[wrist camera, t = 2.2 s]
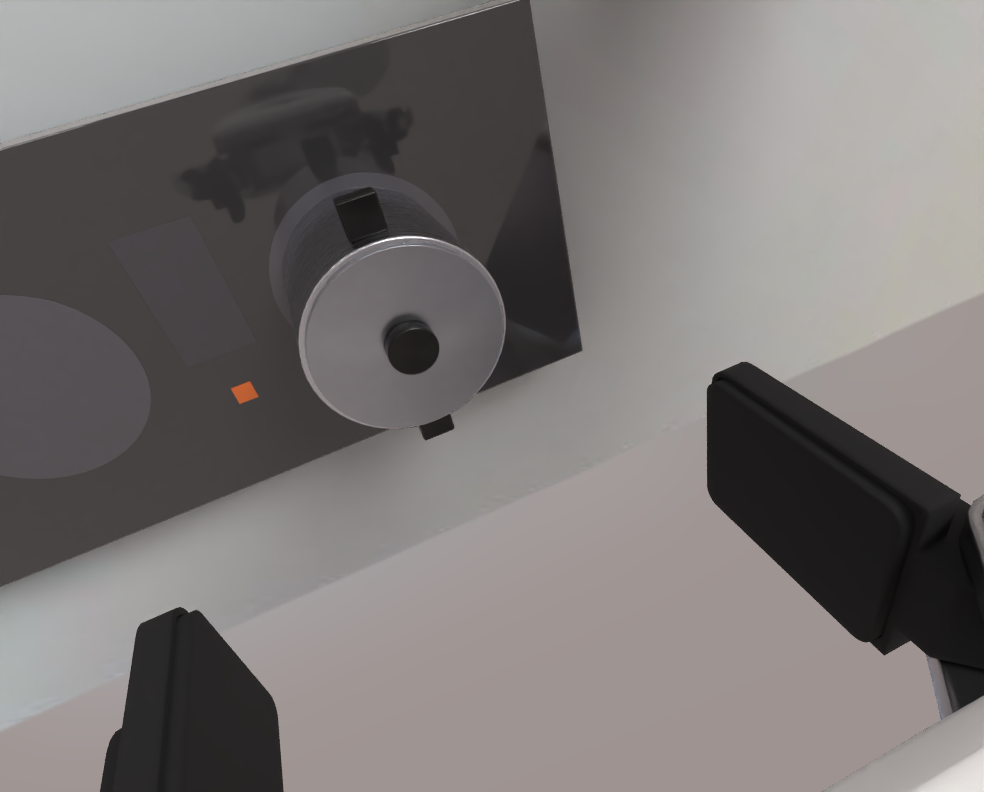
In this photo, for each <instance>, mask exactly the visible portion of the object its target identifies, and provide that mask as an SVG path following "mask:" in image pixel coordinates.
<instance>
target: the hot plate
mask: <svg viewBox="0 0 984 792" xmlns="http://www.w3.org/2000/svg"><path fill="white" fill-rule="evenodd" d="M369 186H370V187H372V188H381V189H388V190H391V191H394V192H398V193H400V194H402V195H405V196H407V197H409V198H410V199H412V200H414V201H415V202H417V203H418V204H420V205H421V206H422V207H423V208H424V209H426V210H427V211H428V212H429V213H430V214H431V215H432V216H433V217H434V218H435V219H436V220H437V221H438V222H439V223H440V224H441V225H442V226H443V227H444V228H445V229H446V230H448V231H449V232H450V233H451V234H452V235H453V236H454V237H455V238H456V239H457V240H458V241H459V242H460V243H461V244H462V245H463V246H464V247H465V248H466V249H467V250H468V251H469V252H470V253H471V254H472V255H473V256H474V257H475V258H477V259H478V260H479V261H480V262H481V264H482V265H483V266H484V267H485V268H486V269H487V270H488V272H489V273H490V275H491V276H492V278H493V279H494V281H495V282H496V285H497V287H498V289H499V291H500V293H501V297H502V300H503V303H504V309H505V317H506V330H505V339H504V343H503V348H502V352H501V354H500V357H499V360H498V362H497V364H496V366H495V368H494V370H493V372H492V374H491V375H490V377H489V378H488V380H487V381H486V383H485V384H484V385H483V386H482V387H481V389H480V390H479V391H478V392H477V393H480V392H482V391H485V390H487V389H490V388H492V387H495V386H497V385H500V384H502V383H505V382H507V381H510V380H512V379H514V378H517V377H519V376H522V375H524V374H527V373H529V372H532V371H534V370H537V369H539V368H542V367H544V366H546V365H549V364H551V363H554V362H556V361H559V360H561V359H564V358H566V357H569V356H571V355H574V354H576V353H578V352H581V351H582V344H581V337H580V330H579V324H578V317H577V310H576V304H575V297H574V291H573V284H572V277H571V271H570V264H569V258H568V251H567V244H566V238H565V231H564V225H563V218H562V211H561V205H560V198H559V191H558V185H557V178H556V172H555V165H554V158H553V152H552V145H551V139H550V132H549V125H548V119H547V112H546V106H545V99H544V92H543V86H542V79H541V72H540V66H539V59H538V53H537V46H536V39H535V33H534V26H533V20H532V13H531V6H530V0H495V1H491V2H488V3H484V4H481V5H477V6H474V7H470V8H467V9H463V10H460V11H456V12H453V13H450V14H446V15H443V16H439V17H436V18H432V19H429V20H425V21H422V22H418V23H415V24H411V25H408V26H404V27H401V28H398V29H394V30H391V31H387V32H384V33H380V34H377V35H373V36H370V37H366V38H363V39H359V40H356V41H352V42H349V43H346V44H342V45H339V46H335V47H332V48H328V49H325V50H321V51H318V52H314V53H311V54H307V55H304V56H300V57H297V58H294V59H290V60H287V61H283V62H280V63H276V64H273V65H269V66H266V67H262V68H259V69H255V70H252V71H249V72H245V73H242V74H238V75H235V76H231V77H228V78H224V79H221V80H217V81H214V82H210V83H207V84H203V85H200V86H197V87H193V88H190V89H186V90H183V91H179V92H176V93H172V94H169V95H165V96H162V97H158V98H155V99H151V100H148V101H145V102H141V103H138V104H134V105H131V106H127V107H124V108H120V109H117V110H113V111H110V112H106V113H103V114H99V115H96V116H93V117H89V118H86V119H82V120H79V121H75V122H72V123H68V124H65V125H61V126H58V127H54V128H51V129H48V130H44V131H41V132H37V133H34V134H30V135H27V136H23V137H20V138H16V139H13V140H9V141H6V142H2V143H0V587H2V586H4V585H7V584H9V583H12V582H14V581H17V580H19V579H22V578H24V577H27V576H29V575H32V574H34V573H36V572H39V571H41V570H44V569H46V568H49V567H51V566H54V565H56V564H59V563H61V562H64V561H66V560H68V559H71V558H73V557H76V556H78V555H81V554H83V553H86V552H88V551H91V550H93V549H96V548H98V547H101V546H103V545H105V544H108V543H110V542H113V541H115V540H118V539H120V538H123V537H125V536H128V535H130V534H133V533H135V532H137V531H140V530H142V529H145V528H147V527H150V526H152V525H155V524H157V523H160V522H162V521H165V520H167V519H169V518H172V517H174V516H177V515H179V514H182V513H184V512H187V511H189V510H192V509H194V508H197V507H199V506H202V505H204V504H206V503H209V502H211V501H214V500H216V499H219V498H221V497H224V496H226V495H229V494H231V493H234V492H236V491H238V490H241V489H243V488H246V487H248V486H251V485H253V484H256V483H258V482H261V481H263V480H266V479H268V478H271V477H273V476H275V475H278V474H280V473H283V472H285V471H288V470H290V469H293V468H295V467H298V466H300V465H303V464H305V463H307V462H310V461H312V460H315V459H317V458H320V457H322V456H325V455H327V454H330V453H332V452H335V451H337V450H339V449H342V448H344V447H347V446H349V445H352V444H354V443H357V442H359V441H362V440H364V439H367V438H369V437H372V436H374V435H376V434H379V433H381V432H384V431H386V430H389V429H384V428H375V427H371V426H366V425H362V424H359V423H357V422H354V421H351V420H349V419H347V418H345V417H343V416H341V415H340V414H338V413H337V412H335V411H334V410H332V409H331V408H330V407H329V406H327V405H326V404H325V403H324V402H323V401H322V400H321V399H320V398H319V397H318V395H317V394H316V393H315V392H314V390H313V389H312V387H311V386H310V384H309V382H308V381H307V379H306V377H305V374H304V372H303V369H302V367H301V362H300V358H299V354H298V349H297V344H296V339H295V334H294V329H293V324H292V319H291V314H290V309H289V304H288V299H287V294H286V289H285V284H284V275H283V264H284V256H285V251H286V247H287V244H288V241H289V239H290V236H291V235H292V233H293V231H294V229H295V227H296V226H297V224H298V223H299V222H300V220H301V219H302V218H303V217H304V216H305V215H306V213H307V212H308V211H309V210H310V209H312V208H313V207H314V206H315V205H317V204H318V203H319V202H321V201H323V200H324V199H326V198H328V197H330V196H332V195H334V194H337V193H339V192H342V191H346V190H350V189H355V188H364V187H369ZM477 393H476V394H477Z"/></svg>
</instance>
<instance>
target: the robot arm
mask: <svg viewBox="0 0 984 792" xmlns="http://www.w3.org/2000/svg"><path fill="white" fill-rule="evenodd" d="M707 487H708V492H709V494H710V496H711V498H712V500H713V501H714V503H715V504H716V505H717V506H718V507H719V508H720V509H721V510H722V511H723V512H724V513H725V514H726V515H727V516H728V517H729V518H730V519H731V520H733V521H734V522H735V523H736V524H737V525H738V526H739V527H740V528H741V529H742V530H743V531H744V532H745V533H746V534H747V535H748V536H749V537H750V538H751V539H752V540H753V541H754V542H756V543H757V544H758V545H759V546H760V547H761V548H762V549H763V550H764V551H765V552H766V553H767V554H768V555H769V556H770V557H771V558H772V559H773V560H774V561H775V562H777V564H778V565H780V566H781V567H782V568H783V569H784V570H785V571H786V572H787V573H788V574H789V575H790V576H791V577H792V578H793V579H794V580H795V581H796V582H797V583H798V584H799V585H800V586H801V587H803V588H804V589H805V590H806V591H807V592H808V593H809V594H810V595H811V596H812V597H813V598H814V599H815V600H816V601H817V602H818V603H819V604H820V605H821V606H822V607H823V608H824V609H826V611H828V612H829V613H830V614H831V615H832V616H833V617H834V618H835V619H836V620H837V621H838V622H839V623H840V624H841V625H842V626H843V627H844V628H846V630H848V632H850V634H852V635H853V636H854V637H855V638H857V639H858V640H860V641H862V642H870V643H872V644H873V645H874V646H875V647H876V648H877V649H878V650H879V651H880V652H881V653H882V654H883V655H886V654H888V653H889V652H891V651H893V650H895V649H896V648H898V647H900V646H902V645H903V644H905V643H907V642H909V641H910V640H911V641H912V642H913V643H914V644H915V645H916V646H918V647H919V648H920V649H921V650H922V651H923V652H924V653H925V654H926V657H927V661H928V665H929V670H930V674H931V678H932V683H933V687H934V691H935V696H936V700H937V704H938V708H939V713H940V717H941V720H940V721H939V722H937V723H935V724H933V725H932V726H930V727H928V728H926V729H925V730H923V731H922V732H920V733H918V734H916V735H915V736H914V737H911V738H910V739H908V740H907V741H905V742H903V743H901V744H900V745H898V746H896V747H895V748H893V749H892V750H890V751H888V752H887V753H885V754H883V755H882V756H880V757H878V758H877V759H875V760H873V761H872V762H870V763H868V764H867V765H865V766H863V767H862V768H860V769H859V770H857V771H855V772H853V773H852V774H850V775H849V776H847V777H845V778H843V779H842V780H840V781H838V782H837V783H835V784H833V785H832V786H830V787H828V788H827V789H825V790H823V791H822V792H984V495H982V496H981V497H979V498H978V499H976V500H975V501H973V503H972V505H969V504H968V503H966V502H964V501H963V500H961V499H960V496H961V495H960V494H959V493H957V492H956V491H954V490H952V489H951V488H949V487H948V486H946V485H944V484H943V483H941V482H940V481H938V480H936V479H935V478H933V477H931V476H930V475H928V474H927V473H925V472H924V471H922V470H920V469H919V468H917V467H915V466H914V465H912V464H911V463H909V462H908V461H906V460H904V459H903V458H901V457H900V456H898V455H896V454H895V453H893V452H891V451H890V450H888V449H887V448H885V447H883V446H882V445H880V444H879V443H877V442H875V441H874V440H872V439H871V438H869V437H867V436H866V435H864V434H863V433H861V432H859V431H858V430H856V429H855V428H853V427H852V426H850V425H848V424H847V423H845V422H844V421H842V420H840V419H839V418H837V417H835V416H834V415H832V414H831V413H829V412H828V411H826V410H824V409H823V408H821V407H820V406H818V405H816V404H815V403H813V402H812V401H810V400H808V399H807V398H805V397H804V396H802V395H800V394H798V393H797V392H796V391H794V390H792V389H791V388H789V387H788V386H786V385H784V384H783V383H781V382H780V381H778V380H776V379H775V378H773V377H772V376H770V375H768V374H767V373H765V372H764V371H762V370H760V369H759V368H757V367H756V366H754V365H752V364H750V363H748V362H741V363H739V364H736V365H734V366H732V367H730V368H727V369H725V370H723V371H720V372H718V373H716V374H715V375H714V376H713V379H712V384H710V385H709V386H708V388H707ZM100 792H283V779H282V766H281V752H280V739H279V726H278V715H277V710H276V706H275V703H274V701H273V699H272V697H271V695H270V694H269V693H268V691H267V690H266V689H265V688H264V687H263V686H262V684H261V683H260V682H259V681H258V679H257V678H256V677H255V676H254V675H253V674H252V673H251V671H250V670H249V669H248V668H247V666H246V665H245V664H244V663H243V662H242V661H241V659H240V658H239V657H238V656H237V655H236V653H235V652H234V651H233V650H232V649H231V647H230V646H229V645H228V644H227V643H226V642H225V640H223V638H222V637H221V636H220V634H219V633H218V632H217V631H216V630H215V629H214V627H213V626H212V625H211V624H210V623H209V621H208V620H207V619H206V618H205V617H204V616H203V614H202V613H201V612H200V611H197V610H195V611H192V612H190V613H188V612H187V611H186V610H185V609H184V608H181V607H179V608H176V609H173V610H171V611H169V612H166V613H164V614H162V615H160V616H157V617H155V618H153V619H150V620H148V621H146V622H143V623H141V624H140V626H139V627H138V629H137V633H136V638H135V645H134V652H133V658H132V665H131V672H130V679H129V685H128V692H127V698H126V705H125V712H124V718H123V725H122V728H121V729H120V730H118V731H116V732H115V734H114V735H113V737H112V738H111V740H110V742H109V746H108V749H107V753H106V759H105V765H104V771H103V777H102V783H101V789H100Z"/></svg>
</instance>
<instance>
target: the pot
mask: <svg viewBox="0 0 984 792" xmlns="http://www.w3.org/2000/svg"><path fill="white" fill-rule="evenodd" d="M283 275H284V284H285V289H286V294H287V299H288V304H289V309H290V314H291V319H292V324H293V329H294V334H295V339H296V344H297V349H298V354H299V358H300V362H301V367H302V369H303V372H304V374H305V377H306V379H307V381H308V382H309V384H310V386H311V387H312V389H313V390H314V392H315V393H316V394H317V395H318V397H319V398H320V399H321V400H322V401H323V402H324V403H325V404H326V405H327V406H329V407H330V408H331V409H332V410H334V411H335V412H337V413H338V414H340V415H341V416H343V417H345V418H347V419H349V420H351V421H354V422H357V423H359V424H362V425H366V426H371V427H375V428H384V429H402V428H410V427H416V426H419V429H420V432H421V434H422V436H423V438H424V439H425V440H428V439H431V438H433V437H436V436H438V435H441V434H443V433H445V432H448V431H450V430H453V429H454V424H453V421H452V418H451V415H450V413H452V412H453V411H455V410H457V409H458V408H460V407H461V406H462V405H464V404H465V403H466V402H468V401H469V400H470V399H471V398H472V397H473V396H474V395H475V394H476V393H477V392H478V391H479V390H480V389H481V387H482V386H483V385H484V384H485V383H486V381H487V380H488V378H489V377H490V375H491V374H492V372H493V370H494V368H495V366H496V364H497V362H498V360H499V357H500V354H501V352H502V348H503V343H504V339H505V330H506V317H505V309H504V303H503V300H502V297H501V293H500V291H499V289H498V287H497V285H496V282H495V281H494V279H493V278H492V276H491V275H490V273H489V272H488V270H487V269H486V268H485V267H484V266H483V265H482V264H481V262H480V261H479V260H478V259H477V258H475V257H474V256H473V255H472V254H471V253H470V252H469V251H468V250H467V249H466V248H465V247H464V246H463V245H462V244H461V243H460V242H459V241H458V240H457V239H456V238H455V237H454V236H453V235H452V234H451V233H450V232H449V231H448V230H446V229H445V228H444V227H443V226H442V225H441V224H440V223H439V222H438V221H437V220H436V219H435V218H434V217H433V216H432V215H431V214H430V213H429V212H428V211H427V210H426V209H424V208H423V207H422V206H421V205H420V204H418V203H417V202H415V201H414V200H412V199H410V198H409V197H407V196H405V195H402V194H400V193H398V192H394V191H391V190H388V189H381V188H372V187H370V186H369V187H364V188H355V189H350V190H346V191H342V192H339V193H337V194H334V195H332V196H330V197H328V198H326V199H324V200H323V201H321V202H319V203H318V204H317V205H315V206H314V207H313V208H312V209H310V210H309V211H308V212H307V213H306V215H305V216H304V217H303V218H302V219H301V220H300V222H299V223H298V224H297V226H296V227H295V229H294V231H293V233H292V235H291V236H290V239H289V241H288V244H287V247H286V251H285V256H284V264H283Z"/></svg>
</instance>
